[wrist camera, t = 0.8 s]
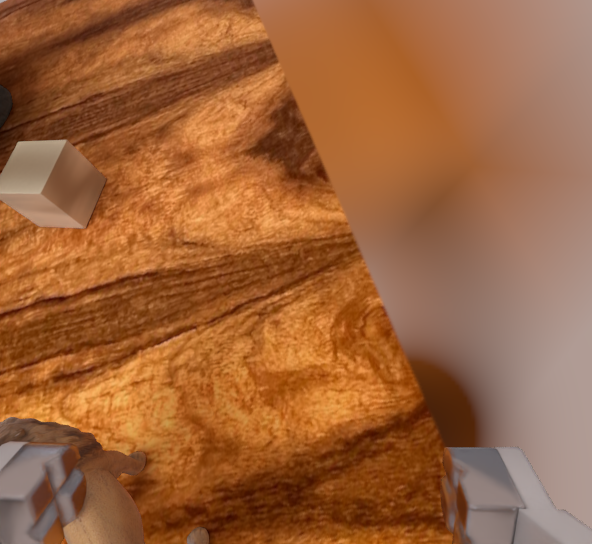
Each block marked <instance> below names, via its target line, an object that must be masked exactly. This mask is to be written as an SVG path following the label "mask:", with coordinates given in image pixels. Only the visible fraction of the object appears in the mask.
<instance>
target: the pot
mask: <svg viewBox="0 0 592 544" xmlns="http://www.w3.org/2000/svg"><path fill="white" fill-rule="evenodd" d="M12 104H13V103H12V96H11V93H10V92H9V91H8V90H7V89H6V88H4V87H3V86H2V85H0V128H1V127H2V125H3V124H4V122H5V120H6V119H7V117H8V115H9V114H10V111H11V108H12Z"/></svg>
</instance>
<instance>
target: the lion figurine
mask: <svg viewBox="0 0 592 544" xmlns="http://www.w3.org/2000/svg"><path fill="white" fill-rule="evenodd" d="M10 441H14V442H53V443H72V444H74V445H76V446H77V447H78V451H79V454H80V457H81V458H80V459H79V461H78V463H77V464H76V466H77V467H78V468H79V469H80V470H81V471H82V472H83V473H84V474H85V478H86V482H87V490H86V497H85V500H84V504H83V507H82V509H81V511H80V512H79V514H78V516H77V518H76V519H75V520H74V521H72V522H71V523H69V524H68V525H67V526H65V527H64V528H63V529H64V536H65V539H66V541H67V543H68V544H145V542H144V534H143V526H142V520H141V515H140V513H139V511H138V509H137V506H136V504H135V502H134V501H133V499H132V497H131V496H130V494H129V493H128V492H127V491H126V489H125V488H124V487H123V486H122V485H121V484H120V483H119V481H118V480H117V478H118V477H119V476H120V474H121V473H126V474H129V475H137V474H138V473H139V472H140V471H142V470H143V469H144V467H145V463H146V456H145V454H144V452H139V451H136V452H134V453H132V454H130V455H129V456H127V455H125V454H123V453H121V452H118V451H104V450H103V449H102V446H101V444H100V443H98V442H97V441H96V439H95V437H94V435H93V434H91V433H85V432H81V431H80V430H79V429H77V428H74V427H70V426H68V425H61V424H58V423H56V422H40V421H38V420H36V419H32V418H29V419H18V418H15V417H10V418H7V419H6V420H4V421H3V422H0V446H1V445H2V444H5V443H7V442H10ZM187 543H188V544H209V534H208V532H207V530H206V529H205V528H202V527H197V528H196V529H194V530H193V531H192V532H191V533H190V534H189V535H188V537H187Z"/></svg>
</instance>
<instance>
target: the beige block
mask: <svg viewBox="0 0 592 544" xmlns="http://www.w3.org/2000/svg"><path fill="white" fill-rule="evenodd" d="M106 180H107V178H106V177H105V176H104V175H103V174H101V173H100V172H99V171H98V170H97V169H96V168H95V167H94V166H93V165H92V164H91V163H90V162H89V161H88V160H87V159H86V158H85V157H84V156H83V155H82V154H81V153H80V152H79V151H78V150H77V149H76V148H75V147H74V146H73V145H72V144H71V143H70V142H69V141H68V140H48V141H23V142H18V143H17V145H16V147H15V149H14V151H13V153H12V154H11V156H10V158H9V160H8V162H7V164H6V166H5V167H4V169H3V171H2V173H1V175H0V200H1V201H3V202H4V203H6V204H7V205H9V206H10V207H11V208H13V209H14V210H16V211H17V212H19V213H20V214H22V215H23V216H24V217H26V218H27V219H29V220H30V221H32V222H33V223H35V224H36V225H38V226H39V227H60V228H86V226H87V224H88V222H89V219H90V217H91V215H92V212H93V210H94V208H95V205H96V203H97V201H98V198H99V196H100V194H101V191H102V189H103V187H104V184H105V182H106Z"/></svg>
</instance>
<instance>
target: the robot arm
mask: <svg viewBox="0 0 592 544" xmlns="http://www.w3.org/2000/svg"><path fill="white" fill-rule="evenodd" d="M80 458H81V457H80V454H79V451H78V447H77V446H76V445H74V444H72V443H53V442H14V441H10V442H7V443H5V444H2V445H1V446H0V544H61V542H62V541H63V539H64V537H65V536H64V529H63V528H64V527H65V526H67V525H68V524H69V523H71V522H72V521H74V520H75V519H76V518H77V516H78V514H79V512H80V511H81V509H82V507H83V504H84V500H85V497H86V490H87V482H86V478H85V474H84V473H83V472H82V471H81V470H80V469H79V468H78V467H77V466H76V464H77V463H78V461H79V459H80ZM443 466H444V469H445V472H446V475H445V476H444V477H443V478H442V479H441V491H440V493H441V507H442V512H443V517H444V521H445V525H446V528H447V529H448V530H449V531H450V532H451V533H452V534H453V541H452V544H592V529H591V528H590V527H588V526H587V525H586V524H584V523H583V522H581V521H580V520H578V519H577V518H575V517H574V516H573V515H571V514H570V513H568V512H567V511H566V510H557V509H556V507H555V506H554V504H553V502H552V501H551V499H550V497H549V495H548V494H547V492H546V490H545V488H544V487H543V485H542V483H541V481H540V480H539V478H538V476H537V474H536V473H535V471H534V469H533V467H532V466H531V464H530V462H529V461H528V459H527V457H526V455H525V454H524V452H523V451H522V449H520V448H519V447H494V448H450V447H445V450H444V453H443Z"/></svg>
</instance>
